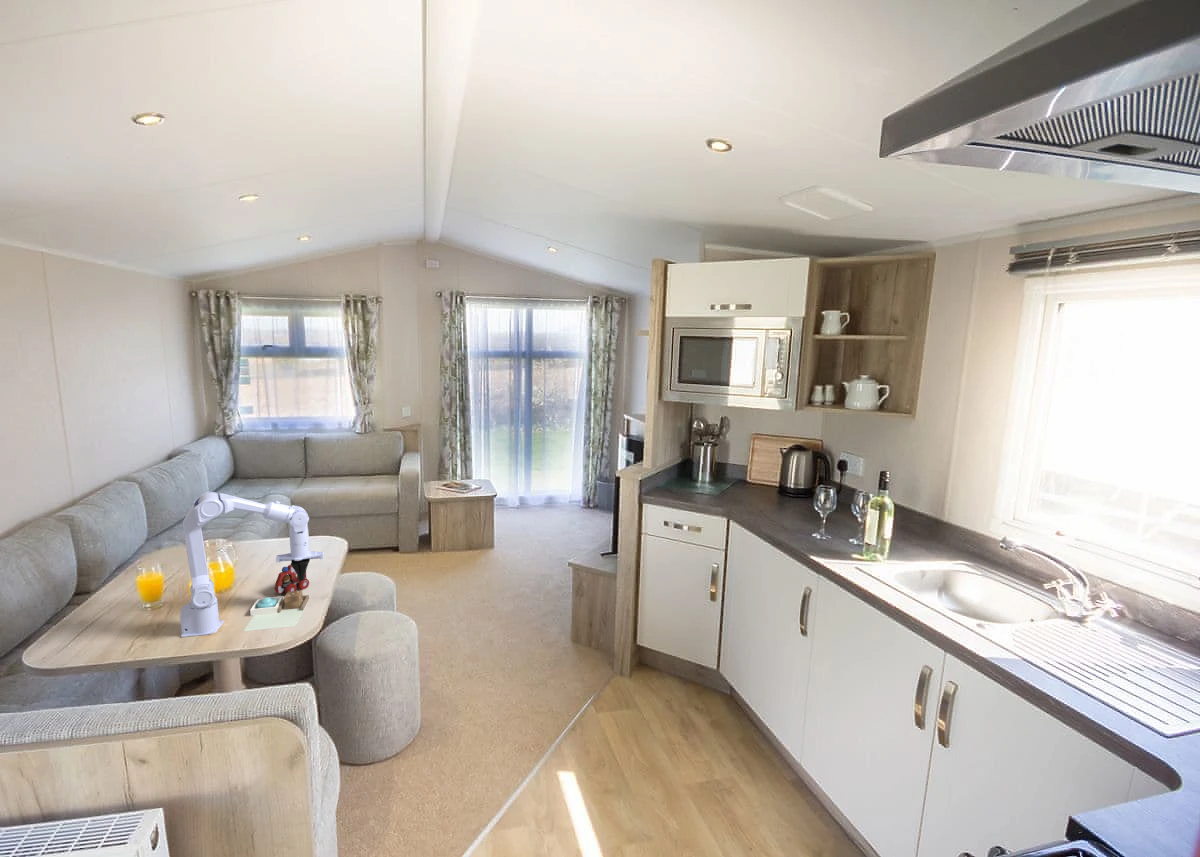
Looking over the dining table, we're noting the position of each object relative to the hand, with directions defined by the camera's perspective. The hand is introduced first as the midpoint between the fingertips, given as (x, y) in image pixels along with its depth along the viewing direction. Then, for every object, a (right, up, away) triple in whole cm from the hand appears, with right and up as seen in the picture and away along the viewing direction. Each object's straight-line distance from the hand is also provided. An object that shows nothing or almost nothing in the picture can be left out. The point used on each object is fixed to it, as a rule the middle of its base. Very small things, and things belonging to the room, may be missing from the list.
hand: (302, 579), depth 191 cm
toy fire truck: (-11, -8, +13) cm, 19 cm away
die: (-3, -9, 0) cm, 10 cm away
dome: (-11, -9, -2) cm, 14 cm away
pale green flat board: (-5, -11, -5) cm, 13 cm away
